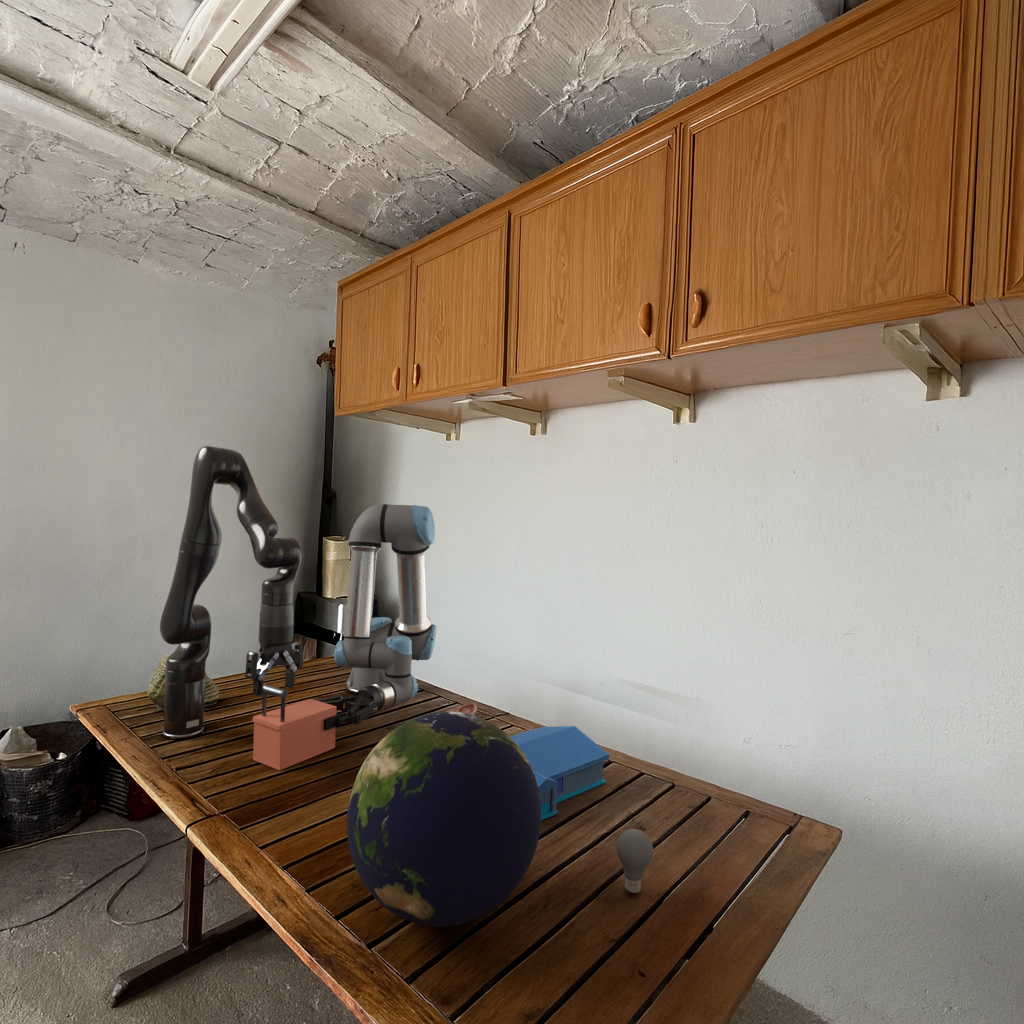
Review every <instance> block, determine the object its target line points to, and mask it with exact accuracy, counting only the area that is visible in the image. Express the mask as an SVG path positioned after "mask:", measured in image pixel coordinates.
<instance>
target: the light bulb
mask: <svg viewBox="0 0 1024 1024" xmlns="http://www.w3.org/2000/svg"><path fill="white" fill-rule="evenodd" d="M615 849H616V854H617V857H618V859H619V861H620V863H621V865H622V867H623V873H624V874H623V875H624V876H625V878H624V888H625V890H627V891H628V892H630V893H634V894H635V893H639V892H640V891H641V889H642V887H641V886H642V879H643V877H644V875H645V871H646V868H647V867H648V866H649V864H650V863H651V861H652V859H653V855H654V847H653V843H652V841H651V838H649V836H648V835H647V834H646V833H645V832H643V831H642V830H641V829H636V828H629V829H627V830H625V831H623V832H622V833H621V834H620V835H619V837H618V839H617V841H616V847H615Z"/></svg>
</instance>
